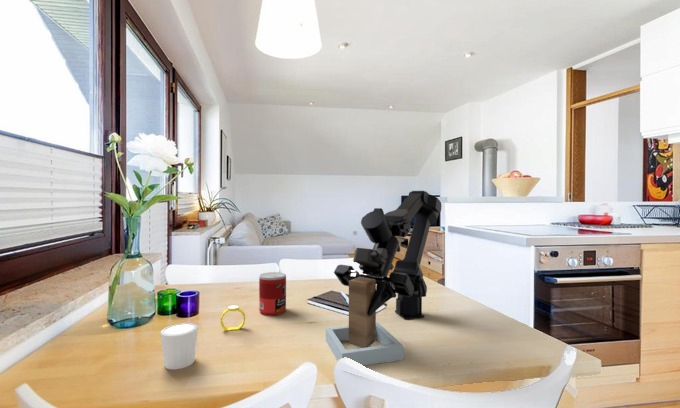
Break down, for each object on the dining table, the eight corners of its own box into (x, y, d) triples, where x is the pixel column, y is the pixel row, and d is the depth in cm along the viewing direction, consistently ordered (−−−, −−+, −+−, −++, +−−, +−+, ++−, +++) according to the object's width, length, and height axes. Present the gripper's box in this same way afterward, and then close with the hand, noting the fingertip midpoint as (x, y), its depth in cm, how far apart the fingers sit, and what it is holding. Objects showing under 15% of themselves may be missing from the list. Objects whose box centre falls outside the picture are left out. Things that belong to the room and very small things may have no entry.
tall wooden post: (359, 336, 76) (359, 276, 76) (375, 341, 74) (375, 279, 74) (348, 343, 73) (348, 280, 73) (365, 348, 70) (366, 283, 70)
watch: (244, 327, 87) (246, 304, 87) (244, 331, 84) (246, 308, 84) (220, 328, 85) (222, 305, 85) (219, 332, 82) (221, 308, 82)
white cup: (169, 355, 71) (169, 322, 70) (202, 354, 71) (202, 321, 71) (154, 371, 64) (154, 336, 64) (190, 370, 64) (190, 335, 64)
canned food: (280, 316, 94) (280, 278, 94) (254, 314, 95) (254, 277, 95) (289, 308, 101) (289, 272, 101) (265, 306, 103) (265, 271, 103)
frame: (378, 334, 82) (378, 322, 82) (403, 359, 69) (403, 345, 69) (325, 340, 78) (325, 328, 78) (342, 368, 65) (342, 353, 65)
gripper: (338, 232, 82) (309, 286, 73) (409, 237, 71) (386, 301, 62) (354, 258, 88) (330, 311, 79) (422, 267, 78) (402, 328, 69)
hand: (359, 312), depth 72 cm, fingers closed on tall wooden post, 4 cm apart
